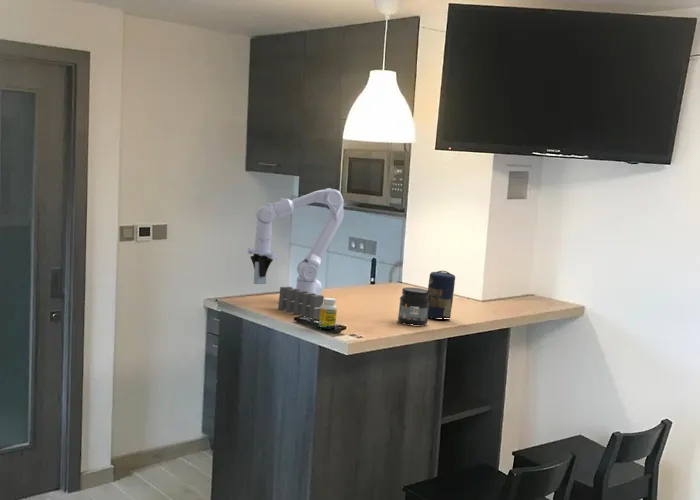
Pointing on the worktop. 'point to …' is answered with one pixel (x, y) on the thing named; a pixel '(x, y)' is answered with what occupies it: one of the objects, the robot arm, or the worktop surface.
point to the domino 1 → (256, 275)
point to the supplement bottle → (328, 312)
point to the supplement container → (414, 306)
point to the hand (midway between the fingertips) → (260, 276)
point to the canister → (440, 294)
